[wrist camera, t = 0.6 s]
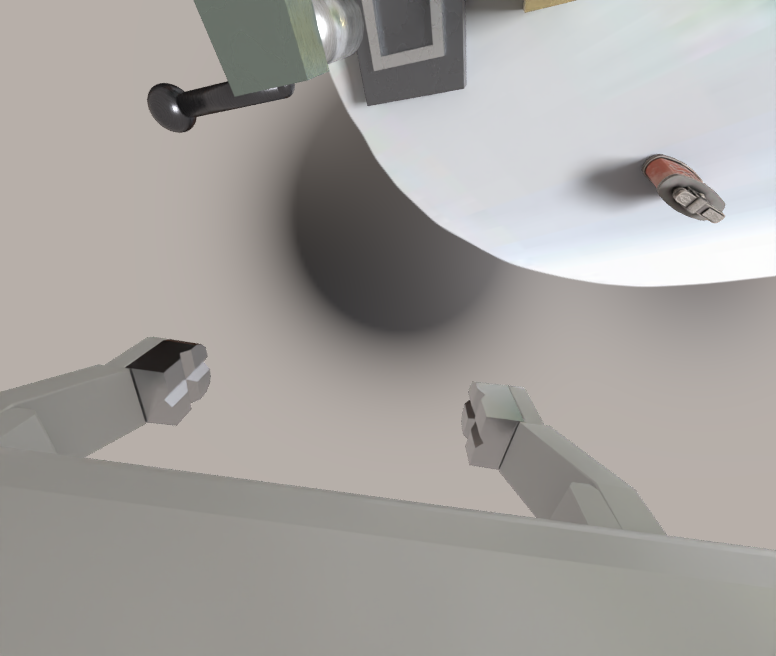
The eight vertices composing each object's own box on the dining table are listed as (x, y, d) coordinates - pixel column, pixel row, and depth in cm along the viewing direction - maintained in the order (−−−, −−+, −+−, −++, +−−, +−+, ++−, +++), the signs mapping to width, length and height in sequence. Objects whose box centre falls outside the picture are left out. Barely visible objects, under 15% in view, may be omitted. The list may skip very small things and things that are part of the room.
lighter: (634, 172, 43) (656, 204, 37) (659, 147, 41) (687, 177, 34) (681, 200, 44) (710, 236, 38) (708, 178, 42) (745, 213, 35)
